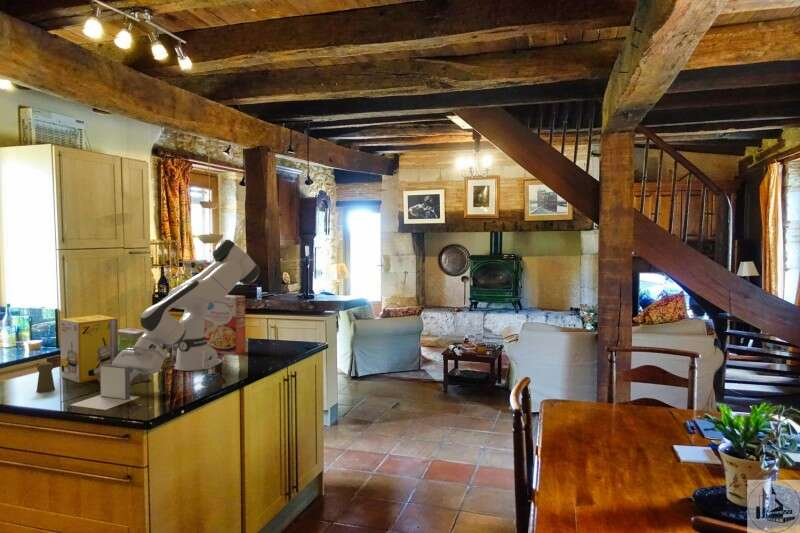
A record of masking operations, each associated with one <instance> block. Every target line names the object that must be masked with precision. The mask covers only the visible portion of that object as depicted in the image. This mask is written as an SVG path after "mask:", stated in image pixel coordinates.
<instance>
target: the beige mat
mask: <svg viewBox="0 0 800 533" xmlns="http://www.w3.org/2000/svg"><path fill="white" fill-rule="evenodd" d="M139 398H140V396H137V395H136V396H135V395H130V399H128V400H123V399H115V398H107V397H101V394H99V395H95V396H92V397H89V398H87V399H84V400H81V401H78V402H74V403H71V404H70V406H73V407H80V408H88V409H96V410H102V411H103V410H104V411H106V410H109V409H111V408H114V407H117V406H119V405H122V404H126V403H128V402H131V401H133V400H137V399H139Z"/></svg>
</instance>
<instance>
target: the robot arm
mask: <svg viewBox="0 0 800 533" xmlns="http://www.w3.org/2000/svg"><path fill="white" fill-rule="evenodd" d="M212 256H213V258H214V261H212V262H211V263H210V264H209V265H208V266H207V267H205V268H204V269H203V270H202V271H200V272H199V273H197V274H195V275H194V276H192V277H191V278H188V279H187V280H185V281H184V282H182V283H181V284H179V285H177V286H175V287H174V288H173V287H172V289H170V290H169V292H168V294H167V295H166V296H165V297H164V298H162V299H161V300H159V301H158V302H156V303H153V304H152V305H150V306H148V307H147V308H146V309H145V310H143V311H142V312H141V315H140V320H139V321H140V325H141V327H142V328H144V329H143V330H144V333H143V335H142V336H141V337H140V338H139V339H138V341H137V342H136V344H135V345H134V347H133V348H126V349H124V350H122V351H121V352H120V353H119V354H118V355H117V356H116V358H115V359H114V360H113V362H112V365H121V366H130V373H131V372H132V371H133V372H132V373H131V374H130V381H132V379H133V378H134V377H135V376H136V375H138V374H139V372H145V373H148V374H157V373H158V372H159V371H160V369H161V368H162V366H163V365H164V361H165V359H166V358H167V356H168V355H167V353H166V351H164V350H163V349H162V348H161V347H162V345H166V346H175V345H177V346H178V348H177V350H176V359H175V360H176V361H175V363H174V367H175V370H178V371H186V372H187V371H191V372H192V371H200V370H209V369H212V368H214V367H215V366H218V365H220V364H221V363H223V359H220V358H218V353H216V350H215V349H213V348H212V347H210V346H209V345H208V344H207V341H206V340H208V341H209V340H210V338H211V337H210V336H206V337H205V336H204V327H205V316H206V312H207V308H208V305H209V303H214V302H218V301H220V300H222V299H223V298H224V297H225V296H226V295H229V293H230V292H232V291H233V289H234V287H236V285H237V284H238V283H241V284H243V285H249V284H252V283H253V282H255V281H256V280H257V279H258V277H259V276H260V274H261V269H260V267H259V265H258V264H257V263H255V261H254V260H253V259H252V258H251V257H250V256H249V254H248V253H246V252H245V251H244V250H243V249H242V248H240V247H239V246H238V245H236V244H235V242H234V241H232V240H231V239H224V240H221V241H220V242H218V243H217V244H216V245H215V247H214V248H213V250H212ZM173 308H174V309H178V310H184V312H183V314H182V316H181V317H180V319H179V320H178V319H176V318H175V317H174V316H173V315H172V314H170V313H169V311H170V310H172V309H173Z"/></svg>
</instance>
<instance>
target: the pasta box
mask: <svg viewBox="0 0 800 533" xmlns="http://www.w3.org/2000/svg"><path fill="white" fill-rule="evenodd" d="M204 336H205V337H206V336H210V337H211V338H210V340H209V341H208V340H206V341H207V344H208V345H209V346H210V347H212V348H213V349H215V350H216V353H217V354H218V353H220V355H229V354H231V356H238V355H240V354H244V353H246V296H245V295H235V294H233V295H232V294H227V295H226V296H225V297H224V298H223V299H222V300H220V301H218V302H214V303H209V305H208V308H207V312H206V316H205V327H204ZM243 352H244V353H243ZM237 354H238V355H237Z"/></svg>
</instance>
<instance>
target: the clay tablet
mask: <svg viewBox="0 0 800 533" xmlns="http://www.w3.org/2000/svg"><path fill="white" fill-rule="evenodd" d="M132 372H133V371H132ZM132 372H131V373H132ZM131 373H130V374H131ZM149 380H150V373H145V372H139V374H138V375H136V376H135V377H134V378H133V379H132V381H130V385H133V384H136V383H143V382H147V381H149ZM96 381H98V382H99V383H100V374H99V376H98V377H97V379H96Z"/></svg>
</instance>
